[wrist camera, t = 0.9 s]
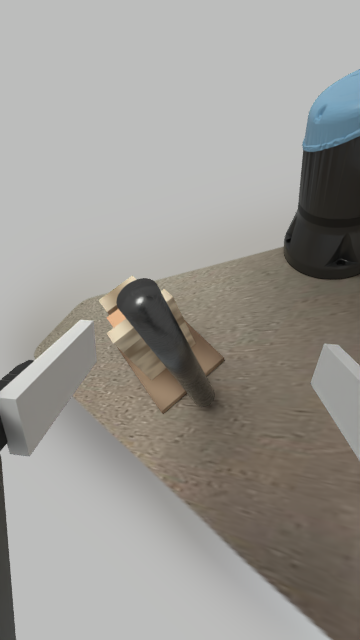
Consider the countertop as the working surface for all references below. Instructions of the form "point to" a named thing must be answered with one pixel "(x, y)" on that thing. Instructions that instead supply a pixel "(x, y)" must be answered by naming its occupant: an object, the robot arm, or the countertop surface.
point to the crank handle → (164, 337)
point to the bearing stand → (145, 360)
